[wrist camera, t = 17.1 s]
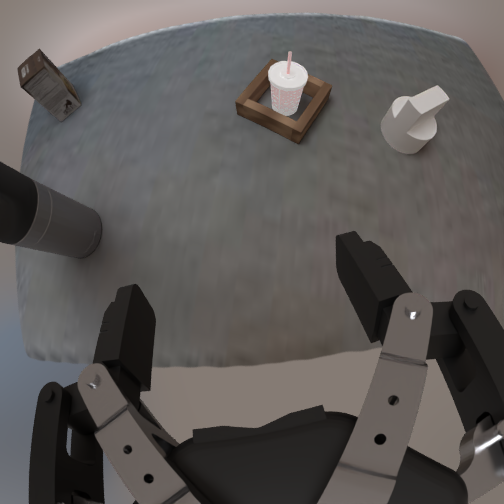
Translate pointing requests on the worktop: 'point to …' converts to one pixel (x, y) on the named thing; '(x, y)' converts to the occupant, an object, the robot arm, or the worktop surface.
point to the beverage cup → (286, 85)
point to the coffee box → (48, 85)
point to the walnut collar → (275, 120)
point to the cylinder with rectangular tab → (413, 120)
